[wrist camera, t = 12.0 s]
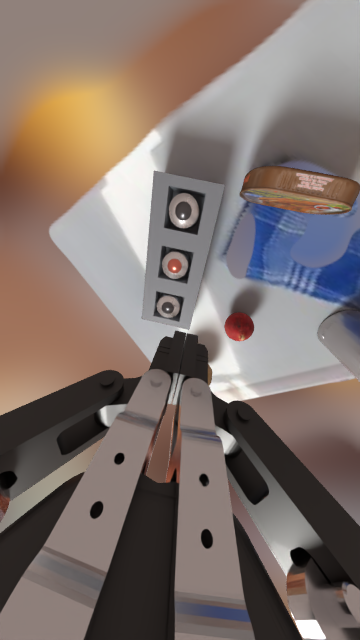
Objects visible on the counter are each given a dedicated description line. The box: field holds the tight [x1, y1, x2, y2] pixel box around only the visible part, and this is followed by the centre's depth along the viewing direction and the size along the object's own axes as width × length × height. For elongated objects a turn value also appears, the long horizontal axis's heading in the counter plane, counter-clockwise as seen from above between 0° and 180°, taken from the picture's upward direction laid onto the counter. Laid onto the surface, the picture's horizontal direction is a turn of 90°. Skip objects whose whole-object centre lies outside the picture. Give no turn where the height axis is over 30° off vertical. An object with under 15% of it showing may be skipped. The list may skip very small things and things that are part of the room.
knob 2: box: [169, 193, 200, 228], centre depth 27 cm, size 4×4×4 cm
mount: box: [142, 171, 225, 330], centre depth 32 cm, size 10×24×6 cm, turn 170°
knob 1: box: [157, 293, 182, 318], centre depth 35 cm, size 4×4×4 cm
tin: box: [240, 166, 360, 215], centre depth 25 cm, size 15×3×8 cm, turn 80°
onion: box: [224, 312, 254, 341], centre depth 36 cm, size 6×6×8 cm
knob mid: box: [162, 249, 190, 279], centre depth 31 cm, size 4×4×4 cm
